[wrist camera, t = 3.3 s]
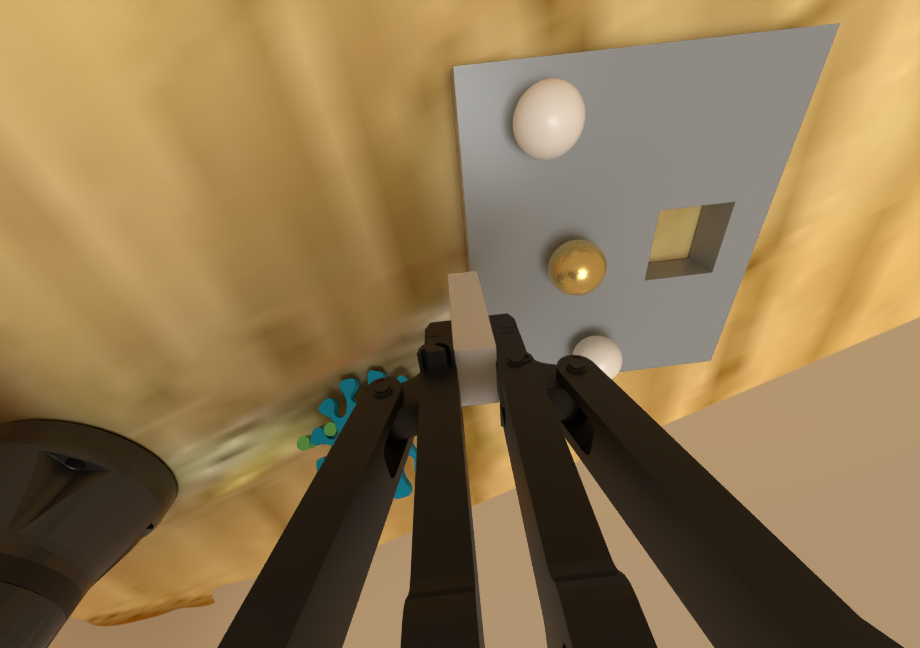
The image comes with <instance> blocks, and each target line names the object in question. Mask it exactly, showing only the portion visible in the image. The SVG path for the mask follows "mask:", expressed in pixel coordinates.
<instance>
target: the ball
mask: <svg viewBox="0 0 920 648" xmlns="http://www.w3.org/2000/svg"><path fill="white" fill-rule="evenodd" d="M606 272H607V261H606V257H605V255H604V253H603V251H602V250H601V249H600V248H599V247H598V246H597V245H596V244H594V243H592V242H590V241H587V240H582V239H576V240H571V241H568V242H566V243H564V244H562V245H561V246H559V247H558V248H557V249H556V250H555V251H554V253H553V254H552V256H551V258H550V260H549V265H548V273H549V277H550V280H551V282H552V284H553V285H554V286H555V287H556V288H557V289H558V290H559V291H561V292H562V293H564V294H567V295H571V296H581V295H585V294H588V293H590V292H592V291H594V290H595V289H596V288H597V287H598V286H599V285H600V284H601V283H602V281H603V280H604V278H605V275H606Z"/></svg>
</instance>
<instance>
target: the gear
mask: <svg viewBox="0 0 920 648" xmlns="http://www.w3.org/2000/svg"><path fill="white" fill-rule="evenodd" d="M382 377H387V376H386V374H385V373H383V372H379V371H374V370H370V371H369V373H368V375H367V379H368V384H369V383H371V382H372V381H374V380H376V379H379V378H382ZM397 380H399V381H400V383H402V382H404V381H407V380H409V379H408V378H407V377H405V376H403V375H401V376H399V377H398V378H397ZM339 386H340V389H341V391H342V392H343V393H344V395H345V398H346V402H347V410H346V414H345V416H344V417H342V416H340V415H339V411H338V410H339V404H338V401H337V400H336V399H335V398H328V399H326V400H325V401H324V402H323V403H322V404H321V405H320V406H319V407H318V410H319V412H320V413H321V414H323V415H326V416H328V417H329V418H331V419H332V420H333V422H329V423H327V424H323V425H321V426H320V427H317V428H315V429H314V430H313V433H312V435H307V436H302V437H300V438H299V439H298V441H297V447H298V448H299V449H300V450H307V449H310V448H313V447H315V446H316V445H320V444H325V445H326V444H328V445H331V446H333V444H334V442H335V440H336V439H337V437H338V435H339V433H340V432H341V430H342V428H343V426H344V425H345V423H346V421H347V419H348V418H349V416H350V414H351V412H352V411H353V409H354V407H355V405H356V404H357V401H356V400H355V394H356V392H357V390H358V388H359V381H358V379H346V380H343V381H341V382H340V385H339ZM416 454H417V449H416V447H415V446H414V444H413V443H412V446H411V449H410V452H409V455H410V456H412V457H413V458H414V461H415V472H416ZM325 458H326V457H323V458H321V459H318V460H317V463H316V466H317V472H318V470H319V468H320V467H321V465H322V463H323V461H324V460H325ZM411 492H412V485H411V483H410V482H409V480H408V479H407V477H406V475H405V471H404V469H403V472H402V475H401V478H400V481H399V484H398V487H397V490H396V492H395V495H394V498H395V499H399V498H404V497H406V496H409V495H410V494H411Z"/></svg>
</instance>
